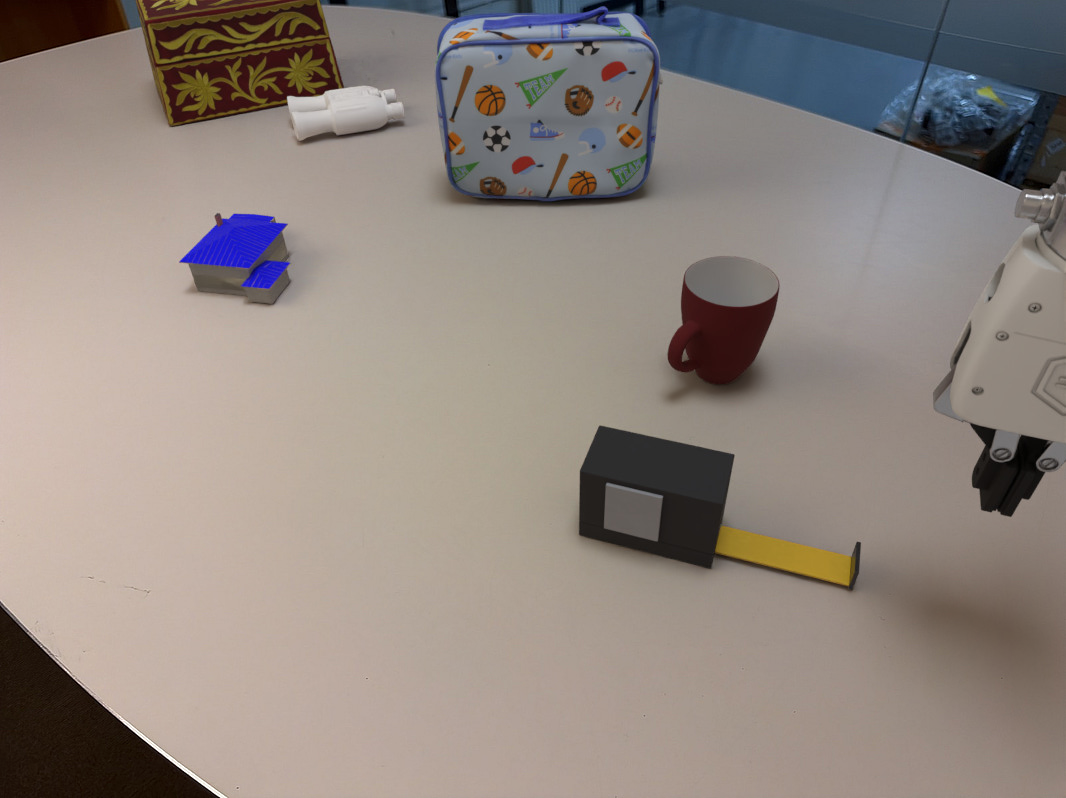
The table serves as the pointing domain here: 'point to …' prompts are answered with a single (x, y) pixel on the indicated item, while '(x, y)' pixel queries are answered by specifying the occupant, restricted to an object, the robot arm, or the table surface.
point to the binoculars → (343, 111)
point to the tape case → (654, 495)
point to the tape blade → (790, 556)
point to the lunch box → (547, 104)
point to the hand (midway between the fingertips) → (993, 496)
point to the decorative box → (236, 54)
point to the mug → (723, 317)
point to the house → (241, 258)
